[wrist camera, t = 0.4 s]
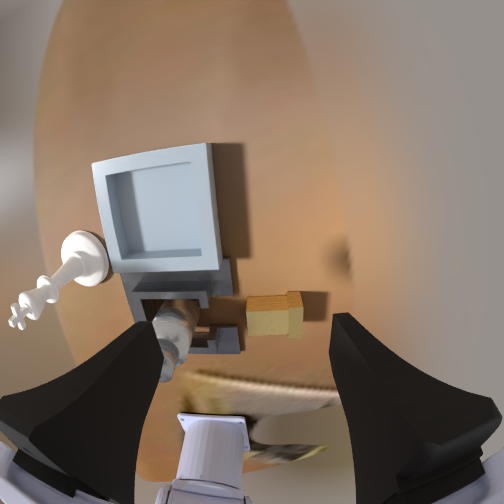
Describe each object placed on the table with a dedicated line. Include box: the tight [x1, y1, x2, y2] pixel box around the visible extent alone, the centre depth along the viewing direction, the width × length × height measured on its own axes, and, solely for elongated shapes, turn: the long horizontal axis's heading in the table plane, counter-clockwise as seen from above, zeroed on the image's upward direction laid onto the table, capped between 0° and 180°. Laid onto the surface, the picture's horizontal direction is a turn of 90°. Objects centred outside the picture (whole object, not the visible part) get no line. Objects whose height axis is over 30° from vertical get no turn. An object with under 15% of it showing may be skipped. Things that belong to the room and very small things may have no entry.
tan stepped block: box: [246, 291, 304, 339], centre depth 20 cm, size 3×4×2 cm
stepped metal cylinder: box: [152, 299, 200, 382], centre depth 18 cm, size 3×3×7 cm
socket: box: [120, 257, 241, 354], centre depth 21 cm, size 9×9×2 cm
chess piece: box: [8, 230, 109, 330], centre depth 15 cm, size 5×5×10 cm
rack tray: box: [92, 143, 223, 273], centre depth 17 cm, size 8×8×2 cm
